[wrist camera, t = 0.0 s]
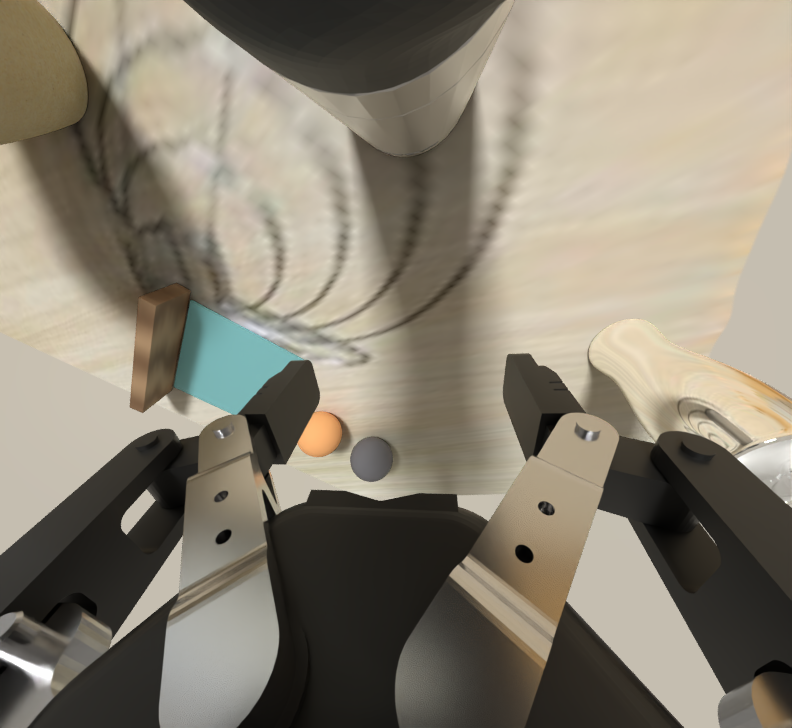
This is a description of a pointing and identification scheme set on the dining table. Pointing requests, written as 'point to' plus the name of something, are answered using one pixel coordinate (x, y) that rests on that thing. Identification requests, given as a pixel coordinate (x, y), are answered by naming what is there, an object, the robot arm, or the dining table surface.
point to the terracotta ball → (321, 435)
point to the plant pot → (37, 73)
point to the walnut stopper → (157, 344)
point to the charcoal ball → (371, 459)
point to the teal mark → (225, 360)
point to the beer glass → (699, 399)
